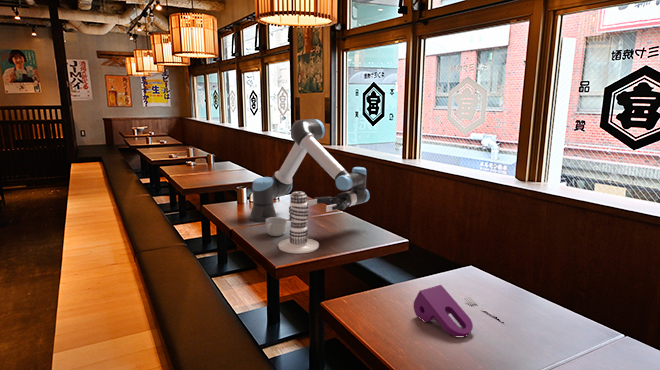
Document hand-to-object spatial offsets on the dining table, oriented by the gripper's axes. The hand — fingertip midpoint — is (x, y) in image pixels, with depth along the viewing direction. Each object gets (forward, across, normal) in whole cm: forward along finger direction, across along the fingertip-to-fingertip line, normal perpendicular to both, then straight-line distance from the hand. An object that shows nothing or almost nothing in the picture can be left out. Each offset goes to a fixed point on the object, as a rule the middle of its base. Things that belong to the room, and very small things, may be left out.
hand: (316, 206), depth 208 cm
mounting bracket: (+26, -85, -17) cm, 90 cm away
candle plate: (+11, 0, -18) cm, 21 cm away
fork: (+10, -94, -17) cm, 96 cm away
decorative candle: (+11, 0, -17) cm, 20 cm away
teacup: (+8, +22, -18) cm, 30 cm away
